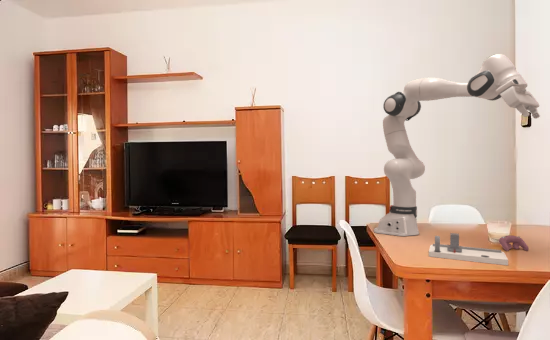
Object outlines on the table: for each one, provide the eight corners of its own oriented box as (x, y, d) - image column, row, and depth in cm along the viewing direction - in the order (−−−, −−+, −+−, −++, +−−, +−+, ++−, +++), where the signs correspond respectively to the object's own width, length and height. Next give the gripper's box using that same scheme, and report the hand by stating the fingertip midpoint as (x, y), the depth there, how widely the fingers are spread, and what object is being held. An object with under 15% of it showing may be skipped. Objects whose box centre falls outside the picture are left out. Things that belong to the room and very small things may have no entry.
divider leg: (447, 251, 132) (447, 236, 132) (447, 247, 138) (447, 232, 138) (462, 253, 130) (462, 237, 129) (461, 248, 136) (461, 233, 136)
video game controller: (523, 252, 144) (517, 236, 147) (530, 250, 140) (525, 233, 143) (500, 253, 144) (495, 236, 147) (507, 250, 140) (502, 234, 143)
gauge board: (428, 256, 134) (428, 236, 134) (430, 249, 144) (430, 230, 144) (508, 265, 122) (508, 243, 121) (503, 256, 132) (503, 236, 132)
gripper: (516, 95, 143) (534, 123, 138) (493, 90, 131) (512, 119, 126) (532, 86, 138) (551, 113, 133) (509, 79, 127) (530, 109, 122)
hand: (532, 116), depth 130 cm, fingers open, 8 cm apart
